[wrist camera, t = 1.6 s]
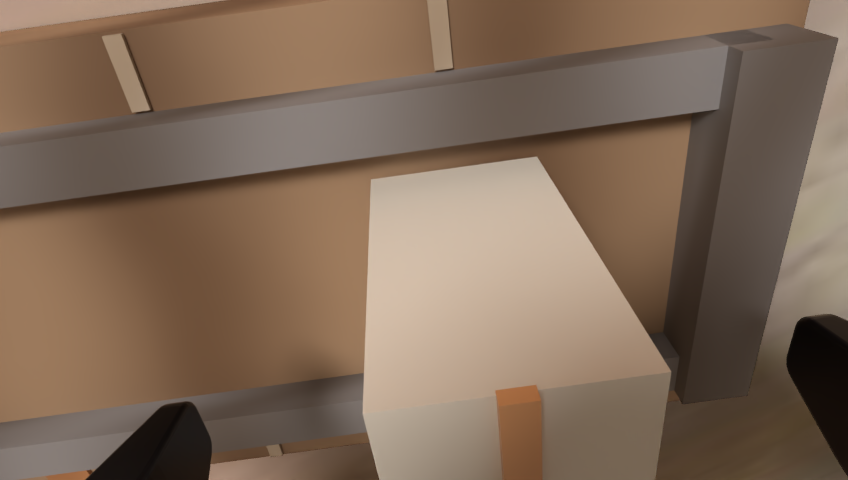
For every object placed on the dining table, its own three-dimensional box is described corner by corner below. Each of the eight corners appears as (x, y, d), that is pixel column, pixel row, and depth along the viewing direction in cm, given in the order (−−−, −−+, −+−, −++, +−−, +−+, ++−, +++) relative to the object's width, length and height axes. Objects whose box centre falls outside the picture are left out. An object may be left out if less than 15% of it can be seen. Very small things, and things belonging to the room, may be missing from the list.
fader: (536, 155, 10) (679, 382, 5) (539, 328, 12) (642, 603, 7) (370, 178, 10) (362, 424, 5) (401, 347, 12) (416, 632, 7)
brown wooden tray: (751, -78, 10) (887, -71, 7) (684, 339, 15) (750, 433, 13) (-435, 89, 10) (-732, 154, 8) (-104, 447, 15) (-208, 563, 13)
